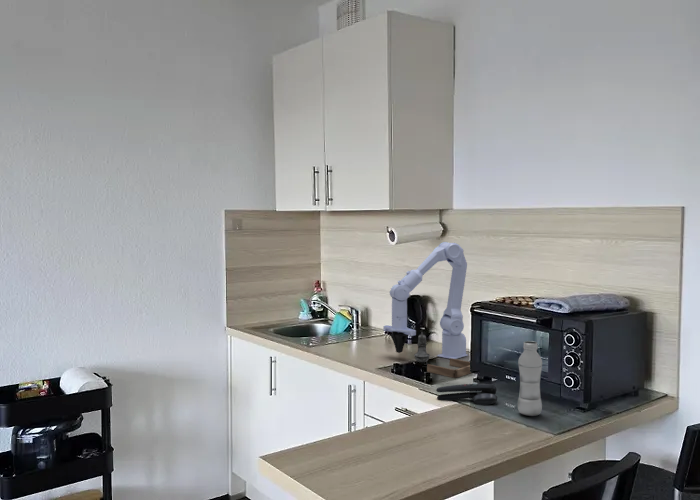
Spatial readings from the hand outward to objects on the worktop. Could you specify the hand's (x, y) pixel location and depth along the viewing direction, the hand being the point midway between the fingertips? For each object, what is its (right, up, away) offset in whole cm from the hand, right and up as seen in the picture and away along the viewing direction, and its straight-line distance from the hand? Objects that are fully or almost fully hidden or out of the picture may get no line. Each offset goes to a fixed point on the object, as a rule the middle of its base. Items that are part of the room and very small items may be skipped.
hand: (399, 352), depth 237 cm
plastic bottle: (+30, -7, -65) cm, 73 cm away
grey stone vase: (+8, -4, -8) cm, 11 cm away
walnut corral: (+17, -4, -18) cm, 25 cm away
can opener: (+16, -6, -52) cm, 55 cm away
